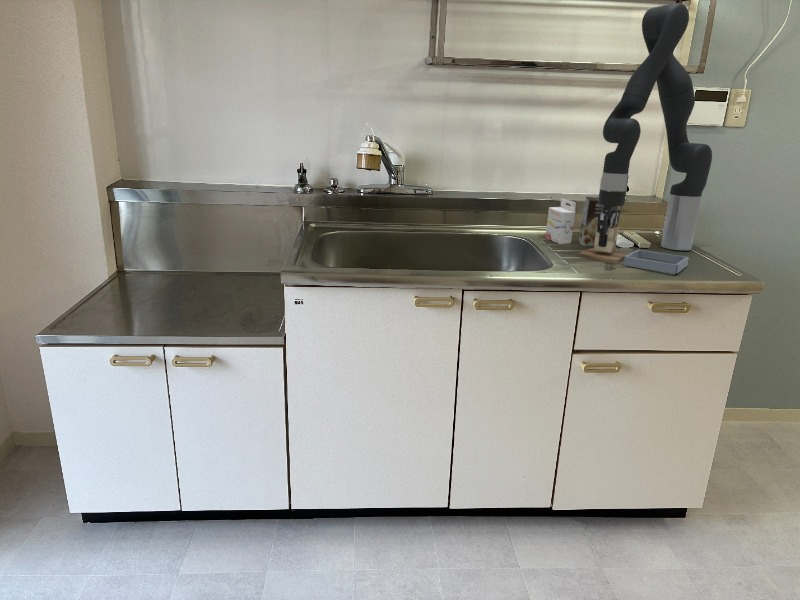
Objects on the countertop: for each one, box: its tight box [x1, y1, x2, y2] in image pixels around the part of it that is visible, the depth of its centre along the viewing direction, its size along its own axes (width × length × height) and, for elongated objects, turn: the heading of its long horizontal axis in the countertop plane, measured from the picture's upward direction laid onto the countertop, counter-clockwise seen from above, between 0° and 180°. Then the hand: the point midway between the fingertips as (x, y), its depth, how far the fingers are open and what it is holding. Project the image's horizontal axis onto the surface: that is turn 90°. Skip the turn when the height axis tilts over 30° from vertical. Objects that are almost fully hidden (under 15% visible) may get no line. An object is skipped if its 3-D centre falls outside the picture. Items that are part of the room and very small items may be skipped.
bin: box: [622, 249, 690, 275], centre depth 167 cm, size 15×15×2 cm
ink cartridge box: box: [544, 197, 577, 245], centre depth 190 cm, size 9×5×15 cm, turn 22°
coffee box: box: [578, 196, 614, 247], centre depth 187 cm, size 9×6×16 cm
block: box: [593, 226, 620, 252], centre depth 174 cm, size 5×5×7 cm
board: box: [576, 247, 629, 265], centre depth 175 cm, size 12×12×1 cm
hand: (605, 245), depth 174 cm, fingers closed on block, 5 cm apart
